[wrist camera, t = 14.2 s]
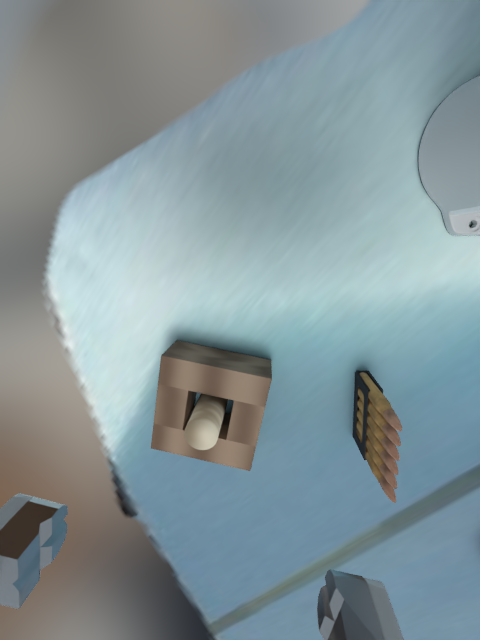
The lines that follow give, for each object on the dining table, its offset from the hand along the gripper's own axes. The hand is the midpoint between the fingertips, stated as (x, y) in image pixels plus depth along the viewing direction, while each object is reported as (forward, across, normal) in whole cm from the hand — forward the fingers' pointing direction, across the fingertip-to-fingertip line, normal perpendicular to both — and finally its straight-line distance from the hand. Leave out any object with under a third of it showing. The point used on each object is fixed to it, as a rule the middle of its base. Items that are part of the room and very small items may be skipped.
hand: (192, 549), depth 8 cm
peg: (+31, +3, +13) cm, 34 cm away
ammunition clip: (+31, -18, +10) cm, 38 cm away
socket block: (+31, +3, +13) cm, 34 cm away
